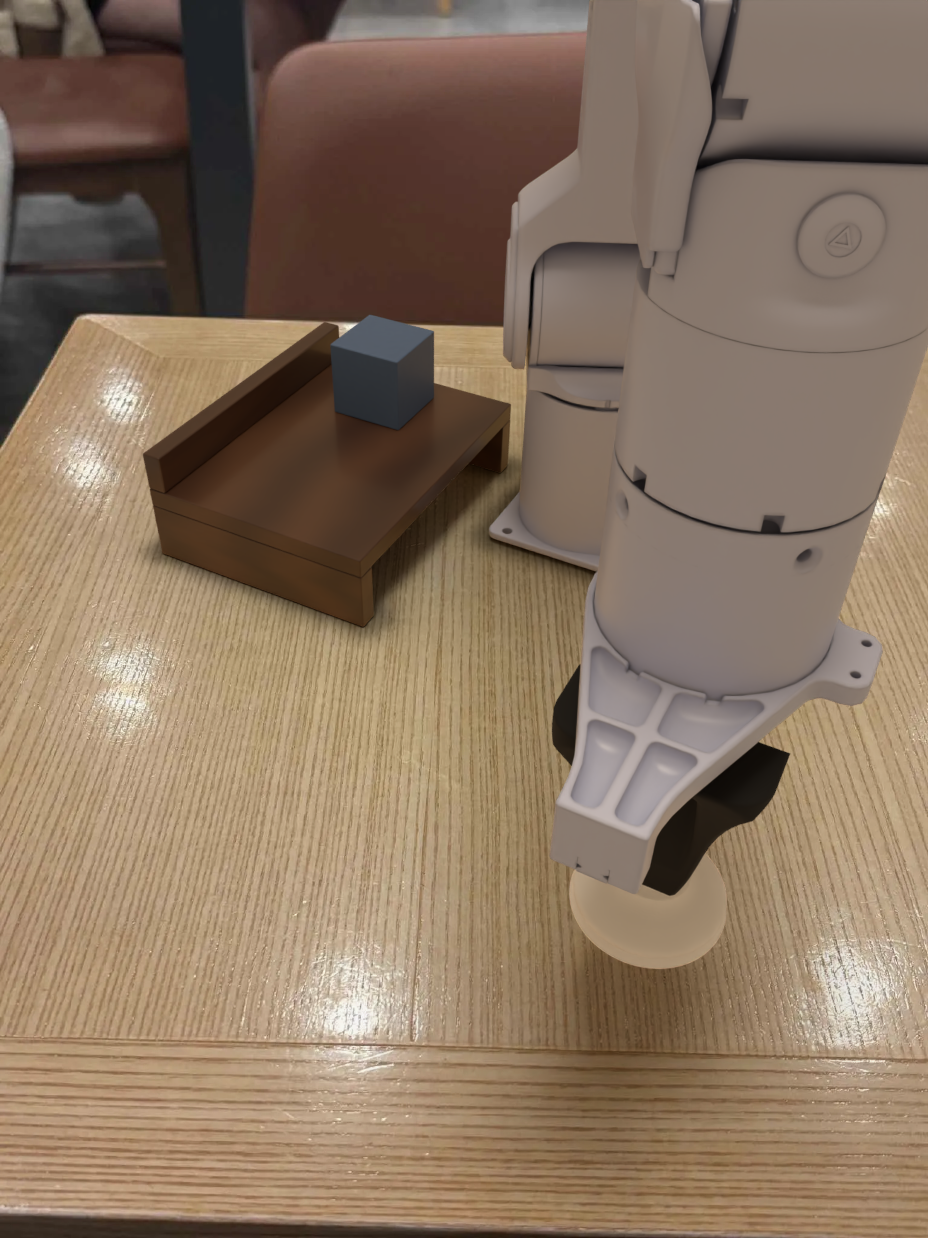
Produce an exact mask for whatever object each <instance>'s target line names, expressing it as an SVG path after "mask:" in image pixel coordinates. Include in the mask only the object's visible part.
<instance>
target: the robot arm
mask: <svg viewBox="0 0 928 1238" xmlns="http://www.w3.org/2000/svg"><path fill="white" fill-rule="evenodd" d="M586 26H587V27H586V35H585V36H586V38H585V50H584V63H583V73H582V87H581V97H580V110H579V123H578V132H577V133H578V135H577V146H576V149H575V150H573V152H572V153H570V154H569V155H568V156H567V157H565V158H564V159H563V160H561V161H559V162H558V163H556V164H554V166H552V167H551V168H549V169H548V170H547V171H544V172H543V173H542V174H540V175H539V176H538V177H536V178H535V179H533V180H532V181H530V182H529V183H528V184H526V185H525V186H523V188H522V189H521V190H520V191H519V192H518V194H517V201H515V202H514V203H513V204H512V205H511V212H510V213H511V214H510V232H509V233H510V234H509V238H508V239H507V241H506V253H505V254H506V258H505V272H504V273H505V274H504V276H505V277H504V300H503V303H504V304H503V326H502V356H503V357H504V358H505V360H506V361H507V362H508V363H510V365H511V368H512V369H513V370H525V369H526V371H525V372H526V390H525V391H526V392H525V404H524V420H523V421H524V422H523V439H522V450H521V451H522V452H521V453H522V454H521V465H520V466H521V467H520V482H519V483H520V485H519V491H518V492H517V493H516V495H515V496H513V499H511V500H510V502H508V504H507V505H506V506H505V507H504V509H503V510H502V511H501V513H499V515H498V516H497V517H496V518H495V520H494V521H493V522H492V523H491V524H490V526H489V527H488V536H489V537H490V538H492V539H494V540H497V541H499V542H503V543H506V544H510V545H511V546H512V545H513V546H516V547H518V548H522V549H525V550H528V551H531V552H534V553H537V554H540V555H544V556H546V557H550V558H553V559H555V560H559V561H561V562H565V563H568V564H571V565H575V566H578V567H580V568H584V569H587V570H590V571H594V572H595V573H594V575H593V577H592V579H591V581H590V583H589V584H588V586H587V591H586V595H585V596H586V597H585V601H584V610H583V618H582V619H583V620H582V632H581V633H582V635H581V649H580V663H579V664H578V665H577V667H576V669H575V670H574V672H573V673H572V674H571V676H570V678H569V680H568V681H567V683H566V684H565V686H564V688H563V689H562V691H561V693H560V694H559V696H558V697H557V698H556V701H555V703H554V706H553V712H552V718H551V740H552V745H553V747H554V748H555V750H556V751H557V752H558V753H559V754H560V755H561V756H562V758H564V760H565V761H566V762H567V763H568V764H569V765H570V766H571V767H570V770H569V772H568V776H567V778H566V780H565V782H564V784H563V786H562V788H561V790H560V793H559V794H558V796H557V798H556V800H555V806H554V813H553V823H552V832H551V840H550V848H549V855H548V857H549V859H550V860H552V861H553V862H556V863H558V864H560V865H563V866H565V867H567V868H570V869H572V870H574V869H575V870H576V871H577V872H580V873H582V874H584V875H587V876H589V877H592V878H594V879H596V880H599V881H601V882H603V883H606V884H607V883H608V884H610V885H613V886H615V887H617V888H620V889H622V890H624V891H627V892H629V893H632V894H637V893H638V891H639V889H640V887H641V885H644V886H647V887H649V888H652V889H654V890H656V891H659V892H661V893H664V894H666V895H668V896H672V895H675V894H676V893H677V892H678V891H679V890H680V889H681V888H682V887H683V886H684V885H685V884H686V882H687V881H688V880H689V878H690V877H691V875H692V874H693V872H694V871H695V869H696V868H697V866H698V864H699V863H700V861H701V859H702V857H703V856H704V854H705V853H706V854H707V851H708V850H709V848H710V847H711V846H712V844H713V843H714V842H715V841H716V840H717V839H718V838H719V837H721V836H722V835H723V834H725V833H726V832H727V831H730V830H731V829H734V828H736V827H738V826H740V825H744V824H747V823H751V822H754V821H755V819H756V818H758V816H759V815H761V813H762V812H763V811H764V810H765V809H766V808H767V806H768V805H769V804H770V803H771V801H772V800H773V798H774V796H775V795H776V792H777V790H778V787H779V784H780V782H781V780H782V776H783V774H784V772H785V770H786V766H787V763H788V761H789V758H790V756H791V753H790V752H787V751H785V750H782V749H780V748H776V747H773V746H771V745H768V744H765V743H763V742H761V740H763V739H764V738H765V737H766V736H768V735H769V734H770V733H771V732H772V731H773V730H775V729H776V728H777V727H778V726H779V725H781V724H782V723H783V722H784V721H785V720H787V719H788V718H789V717H790V716H791V715H793V714H794V713H796V711H798V710H799V709H801V707H802V706H803V705H805V704H806V703H807V702H809V701H812V700H818V699H823V700H827V701H830V702H833V703H836V704H837V705H838V704H839V705H843V706H849V707H853V706H857V705H861V704H863V703H864V702H865V700H866V699H867V698H868V696H869V694H870V691H871V689H872V686H873V683H874V680H875V678H876V674H877V671H878V668H879V665H880V662H881V658H882V656H883V652H884V651H883V650H884V649H883V644H882V643H881V642H880V640H879V639H878V638H877V637H876V636H875V635H873V634H871V633H869V632H867V631H864V630H860V629H857V628H855V627H851V626H850V625H847V624H846V623H844V622H843V621H842V620H841V619H840V615H841V612H842V609H843V606H844V602H845V599H846V597H847V594H848V590H849V588H850V584H851V582H852V578H853V575H854V572H855V569H856V566H857V563H858V560H859V558H860V557H859V556H860V553H861V551H862V547H863V544H864V541H865V538H866V535H867V533H868V530H869V527H870V524H871V521H872V518H873V515H874V512H875V509H876V506H877V503H878V501H879V497H880V493H881V490H882V489H883V486H884V482H885V479H886V475H887V473H888V470H889V467H890V464H891V461H892V458H893V454H894V451H895V448H896V445H897V442H898V439H899V437H900V433H901V430H902V428H903V424H904V421H905V418H906V415H907V412H908V409H909V405H910V403H911V400H912V397H913V394H914V390H915V388H916V384H917V383H918V382H917V381H918V378H919V376H920V372H921V369H922V366H923V363H924V360H925V357H926V354H927V352H928V0H589V1H588V15H587V25H586Z"/></svg>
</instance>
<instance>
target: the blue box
mask: <svg viewBox="0 0 928 1238" xmlns="http://www.w3.org/2000/svg"><path fill="white" fill-rule="evenodd" d="M330 347H331V362H332V377H333V393H334V408H335V412H338V413H341V414H344V415H348V416H351V417H355V418H358V419H361V420H365V421H368V422H372V423H375V424H378V425H382V426H385V427H389V428H392V429H395V430H399V429H401V428H402V427H403V426H404V425H405V424H406V423H407V422H408V421H409V420H410V419H411V418H412V417H413V416H415V415H416V414H417V413H418V412H419V411H420V410H421V409H422V408H423V407H424V406H425V405H426V404H427V403H429V402H430V401H431V400H432V399H433V398H434V383H435V331H434V330H432V329H428V328H423V327H420V326H416V325H412V324H408V323H405V322H401V321H397V320H392V319H390V318H389V319H388V318H385V317H382V316H381V317H380V316H377V315H372V314H368V315H367V316H366V317H365V318H363V319H361V321H359V322H358V323H357V324H355V325H354V326H353V327H351V328H350V329H349V330H347V331H346V332H344V334H342V335H341V336H339V338H338V339H337V340H335V341H334V342H333V343H332V344H331V345H330Z"/></svg>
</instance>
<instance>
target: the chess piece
mask: <svg viewBox="0 0 928 1238" xmlns="http://www.w3.org/2000/svg"><path fill="white" fill-rule="evenodd" d="M568 898H569V905H570V909H571V912H572V915H573V917H574V919H575V921H576V923H577V925H578V927H579V928H580V930H581V932H583V934H584V936H585V937H586V938H587V939H588V940H589V941H590V942H591V943H592V944H593V945H594V946H595V947H597V948H598V949H599V950H600V951H602V952H604V953H605V954H606V955H608V956H610V957H612V958H613V959H615V960H618V961H619V962H621V963H625V964H627V965H630V966H634V967H638V968H644V969H651V970H666V969H673V968H678V967H682V966H686V965H689V964H690V963H693V962H695V961H697V960H699V959H700V958H702V957H703V956H705V955H706V954H707V953H708V952H709V951H711V950H712V949H713V948H714V946H715V945H716V944H717V943H718V941H719V939H720V938H721V936H722V934H723V932H724V929H725V925H726V921H727V909H728V908H727V907H728V895H727V888H726V884H725V880H724V878H723V876H722V874H721V872H720V870H719V868H718V866H717V865H716V864H715V862H714V861H713V860H712V858H711V857H710V856H709V855H708V854H707V852H706V853H705V854H704V856H703V857H702V859H701V861H700V863H699V864H698V866H697V868H696V869H695V871H694V872H693V874H692V875H691V877H690V878H689V880H688V881H687V882H686V884H685V885H684V886H683V887H682V888H681V889H680V890H679V891H678V892H677V893H676V894H675V895H672V896H668V895H666V894H664V893H661V892H659V891H656V890H654V889H652V888H649V887H647V886H644V885H641V887H640V889H639V891H638V893H637V894H632V893H629V892H627V891H624V890H622V889H620V888H617V887H615V886H613V885H610V884H608V883H607V884H606V883H603V882H601V881H599V880H596V879H594V878H592V877H589V876H587V875H584V874H582V873H580V872H577V871H576V870H575V869H573V871H572V874H571V877H570V882H569V887H568Z"/></svg>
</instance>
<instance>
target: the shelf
mask: <svg viewBox="0 0 928 1238" xmlns="http://www.w3.org/2000/svg"><path fill="white" fill-rule="evenodd" d="M339 337H340V327H339V325H338V324H334V323H331V322H328V321H324V322H322V323H321V324H320V325H318V326H317V327H315V328H313V329H312V330H311V331H310V332H308V333H307V334H305V335H304V336H303V337H302V338H300V339H298V340H297V341H296V342H295V343H292V344H291V346H289V347H288V348H286V349H284V350H283V351H282V352H280V353H279V354H278V355H277V356H275V357H274V358H272V359H271V360H269V361H268V362H267V363H265V365H263V366H262V367H260V368H258V369H257V370H256V371H254V372H253V373H252V374H250V375H249V376H248V377H246V378H245V379H243V380H242V381H241V382H239V383H238V384H237V385H235V386H234V387H232V388H231V389H229V390H228V391H227V392H226V393H224V394H223V395H222V396H220V397H219V398H217V399H216V400H215V401H213V402H212V403H210V404H209V405H208V406H206V407H205V408H204V409H202V410H201V411H199V412H198V413H197V414H195V415H194V416H192V417H191V418H190V419H188V420H187V421H185V422H184V423H183V424H182V425H180V426H179V427H177V428H176V429H175V430H173V431H172V432H170V433H169V434H168V435H166V436H165V437H163V438H162V439H161V440H160V441H158V442H157V443H155V444H154V445H153V446H151V447H150V448H149V449H147V450H145V451H144V452H143V453H142V459H143V463H144V468H145V473H146V478H147V483H148V488H149V493H150V498H151V503H152V509H153V514H154V518H155V523H156V529H157V533H158V538H159V542H160V548H161V552H162V554H164V555H166V556H169V557H172V558H174V559H178V560H179V561H183V562H185V563H187V564H191V565H193V566H196V567H199V568H201V569H204V570H206V571H210V572H212V573H216V574H218V575H221V576H224V577H226V578H229V579H231V580H234V581H237V582H240V583H243V584H245V585H248V586H250V587H253V588H255V589H259V590H261V591H263V592H267V593H268V594H269V593H270V594H273V595H275V596H278V597H280V598H283V599H286V600H288V601H290V602H291V601H292V602H294V603H297V604H299V605H303V606H304V607H308V608H310V609H314V610H316V611H319V612H321V613H324V614H327V615H329V616H333V617H334V618H338V619H340V620H343V621H346V622H348V623H351V624H354V625H357V626H360V627H362V628H364V627H365V626H366V625H367V624H368V623H369V621H371V619H372V618H373V617H374V615H375V612H374V611H375V609H374V588H373V569H372V567H373V566H374V565H375V564H376V562H377V561H379V559H380V558H381V557H382V556H383V555H384V554H385V553H386V552H387V551H388V550H389V548H391V546H392V545H393V544H394V543H395V542H396V541H397V540H398V539H399V538H400V537H401V536H402V535H403V534H404V533H405V532H406V531H407V529H408V528H409V527H410V526H411V525H412V524H414V522H415V521H417V519H418V518H419V517H420V516H421V514H423V512H424V511H425V510H426V509H427V508H428V507H430V505H431V504H432V503H433V502H434V501H435V500H436V498H438V496H440V495H441V493H442V492H444V490H445V489H447V487H448V486H449V485H450V484H451V483H452V482H453V481H454V479H456V477H458V476H459V474H460V473H461V472H462V471H463V470H464V469H465V468H466V467H467V466H468V465H471V466H475V467H479V468H481V469H485V470H489V471H492V472H496V473H499V474H502V472H503V471H504V470H505V469H506V468H507V467H508V465H509V452H510V436H511V435H510V433H511V431H510V430H511V414H512V413H511V411H512V404H511V403H509V402H505V401H502V400H499V399H495V398H491V397H487V396H483V395H480V394H476V393H472V392H469V391H465V390H462V389H458V388H455V387H451V386H447V385H442V384H439V383H435V382H434V398H433V399H432V400H431V401H430V402H429V403H427V404H426V405H425V406H424V407H423V408H422V409H421V410H420V411H419V412H418V413H417V414H416V415H415V416H413V417H412V418H411V419H410V420H409V421H408V422H407V423H406V424H405V425H404V426H403V427H402V428H401V429H399V430H395V429H392V428H389V427H385V426H382V425H378V424H375V423H372V422H368V421H365V420H361V419H358V418H355V417H351V416H348V415H344V414H341V413H338V412H335V408H334V393H333V377H332V362H331V347H330V345H331V344H332V343H333V342H334V341H335V340H337V339H338V338H339Z"/></svg>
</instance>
